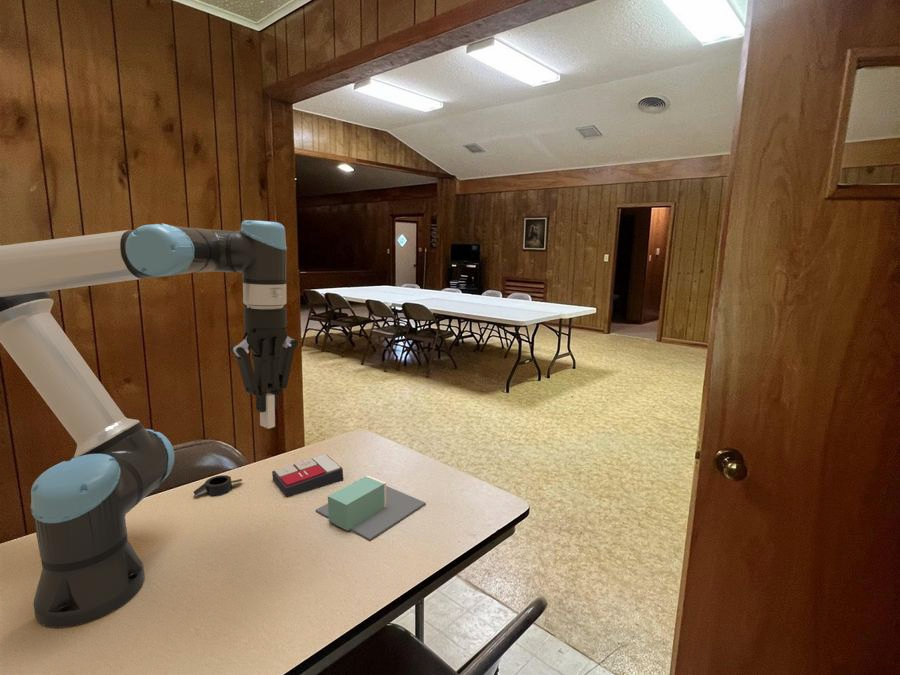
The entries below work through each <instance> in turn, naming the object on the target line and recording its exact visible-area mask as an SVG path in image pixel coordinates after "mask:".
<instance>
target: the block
mask: <svg viewBox="0 0 900 675" xmlns="http://www.w3.org/2000/svg"><path fill="white" fill-rule="evenodd" d="M386 486H387V482H385V481H384V480H381V479H377V478H375V477H373V476H371V475H368V474H367V475H366V476H364V477H362V478H360V479H358V480H356V481H354V482H352V483H351V484H348V485H347V486H345V487H342V488H341V489H338V490H337V491H334V492H333V493H331V494H329V495H328V496H327V504H328V514H329V519H328V522H330V523H331V524H333V525H335V526H338V527H339V528H342V529H343V530H345V531H350V530H349V529H351V528H353V527H354V526H356V525H357V524H359V523H361V522H362V521H364V520H365V519H367V518H369V517H370V516H372V515H373V514H375V513H377V512H378V511H380V510H382V509H383V508H385V507H386Z"/></svg>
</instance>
